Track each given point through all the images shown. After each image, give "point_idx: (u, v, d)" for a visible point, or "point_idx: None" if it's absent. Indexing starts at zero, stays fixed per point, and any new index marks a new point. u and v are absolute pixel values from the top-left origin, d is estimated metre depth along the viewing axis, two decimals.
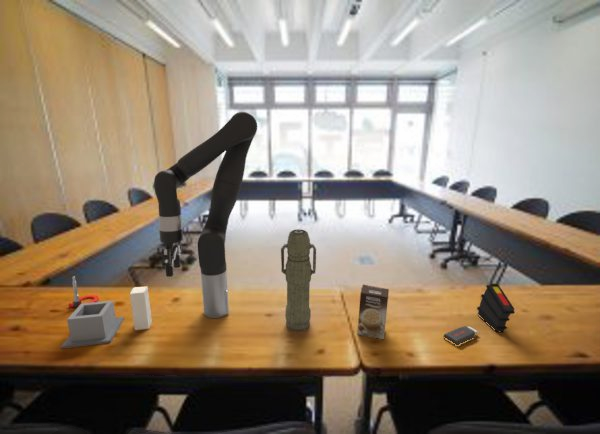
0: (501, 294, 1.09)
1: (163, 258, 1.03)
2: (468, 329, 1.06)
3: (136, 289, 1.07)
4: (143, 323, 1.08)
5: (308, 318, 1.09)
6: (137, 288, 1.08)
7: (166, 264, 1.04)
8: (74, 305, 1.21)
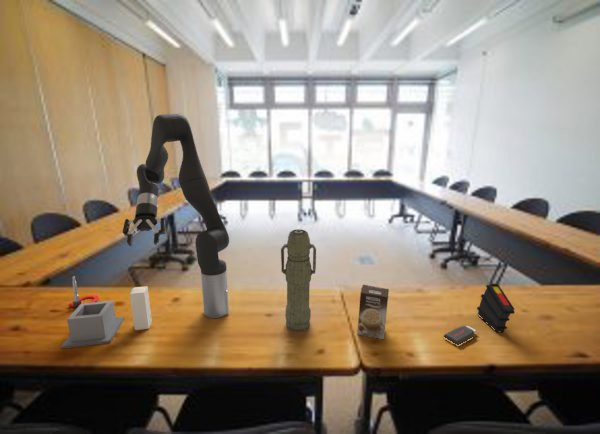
0: (501, 294, 1.09)
1: None
2: (467, 328, 1.07)
3: (136, 289, 1.07)
4: (143, 323, 1.08)
5: (308, 318, 1.09)
6: (137, 288, 1.08)
7: None
8: (74, 305, 1.21)
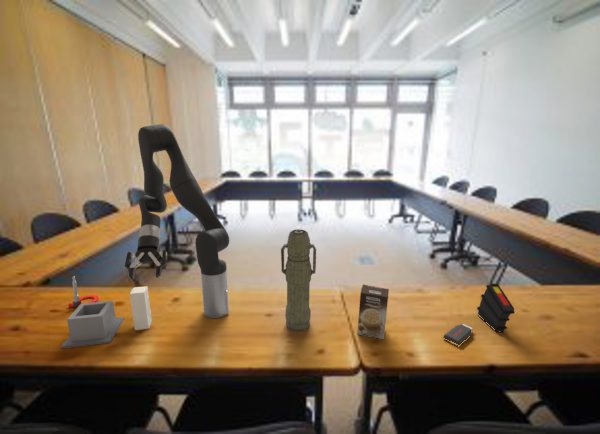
0: (501, 294, 1.09)
1: None
2: (464, 327, 1.07)
3: (136, 289, 1.07)
4: (143, 323, 1.08)
5: (308, 318, 1.09)
6: (137, 288, 1.08)
7: None
8: (74, 305, 1.21)
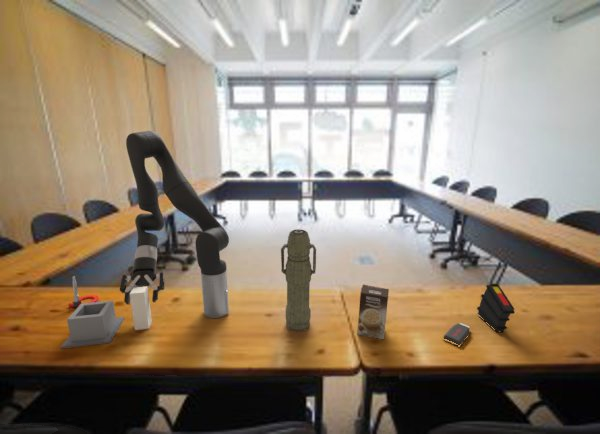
0: (501, 294, 1.09)
1: None
2: (462, 326, 1.08)
3: (136, 289, 1.07)
4: (143, 323, 1.08)
5: (308, 318, 1.09)
6: (137, 288, 1.08)
7: None
8: (74, 305, 1.21)
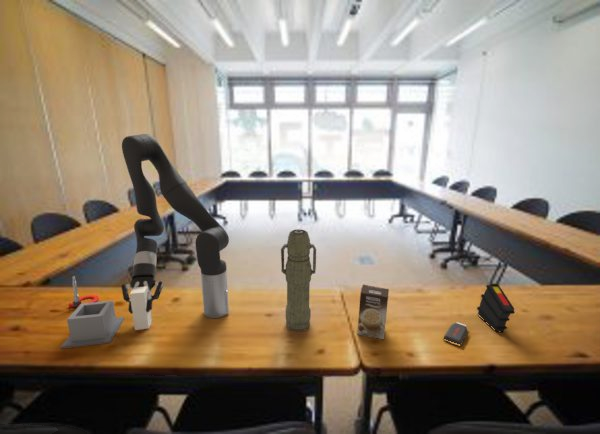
0: (501, 294, 1.09)
1: None
2: (460, 325, 1.08)
3: (136, 289, 1.07)
4: (143, 323, 1.08)
5: (308, 318, 1.09)
6: (137, 288, 1.08)
7: None
8: (74, 305, 1.21)
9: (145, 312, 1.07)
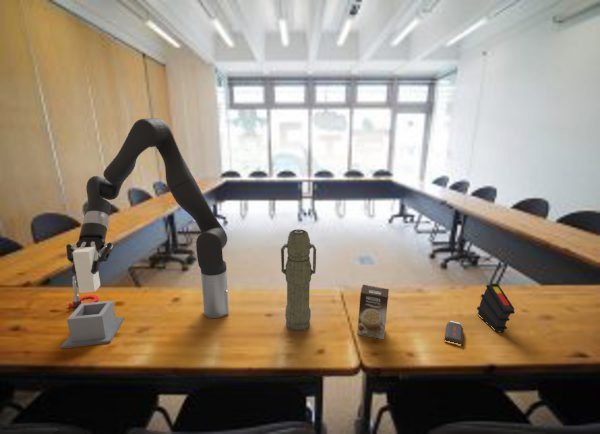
0: (501, 294, 1.09)
1: None
2: (455, 324, 1.09)
3: (81, 249, 1.00)
4: (88, 285, 1.00)
5: (308, 318, 1.09)
6: (82, 248, 1.00)
7: None
8: (74, 305, 1.21)
9: (90, 273, 0.99)
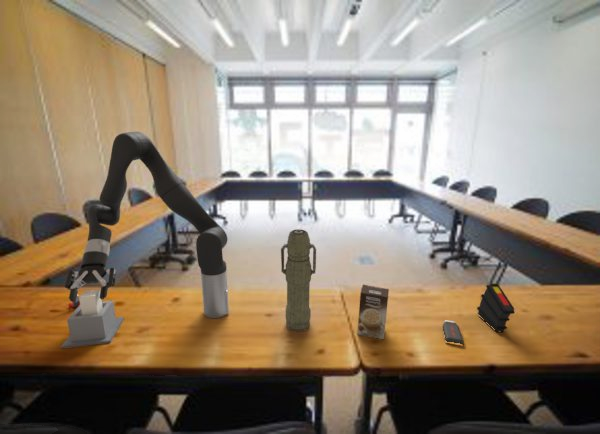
0: (501, 294, 1.09)
1: None
2: (451, 323, 1.10)
3: (87, 292, 1.03)
4: None
5: (308, 318, 1.09)
6: (88, 291, 1.04)
7: None
8: (74, 305, 1.21)
9: None
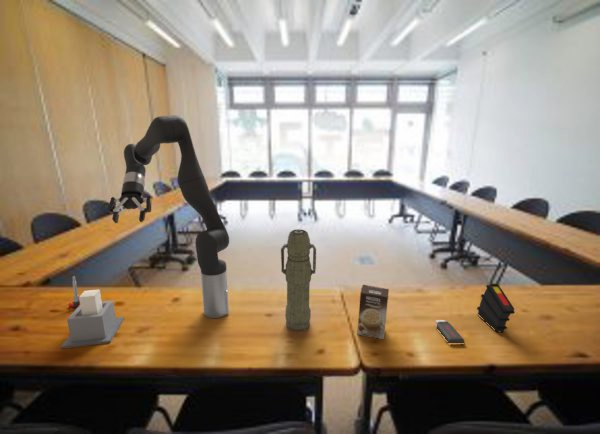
0: (501, 294, 1.09)
1: None
2: (444, 323, 1.10)
3: (87, 292, 1.03)
4: None
5: (308, 318, 1.09)
6: (88, 291, 1.04)
7: None
8: (74, 305, 1.21)
9: None
